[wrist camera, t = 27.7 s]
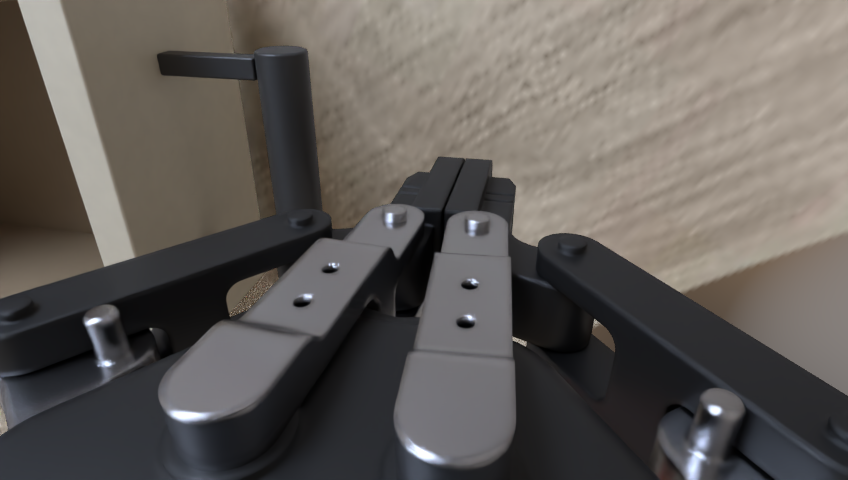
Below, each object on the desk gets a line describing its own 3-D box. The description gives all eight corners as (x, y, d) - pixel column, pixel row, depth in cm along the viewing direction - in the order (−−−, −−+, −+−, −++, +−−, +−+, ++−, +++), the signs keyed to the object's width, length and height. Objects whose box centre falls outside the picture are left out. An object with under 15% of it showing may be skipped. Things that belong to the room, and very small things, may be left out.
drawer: (346, -64, 16) (230, -71, 10) (365, 281, 22) (298, 401, 16) (-146, -66, 20) (-443, -71, 14) (-15, 235, 26) (-184, 320, 20)
